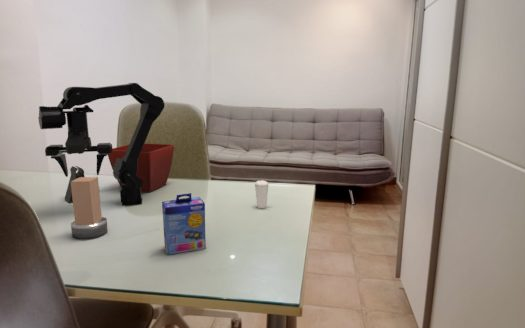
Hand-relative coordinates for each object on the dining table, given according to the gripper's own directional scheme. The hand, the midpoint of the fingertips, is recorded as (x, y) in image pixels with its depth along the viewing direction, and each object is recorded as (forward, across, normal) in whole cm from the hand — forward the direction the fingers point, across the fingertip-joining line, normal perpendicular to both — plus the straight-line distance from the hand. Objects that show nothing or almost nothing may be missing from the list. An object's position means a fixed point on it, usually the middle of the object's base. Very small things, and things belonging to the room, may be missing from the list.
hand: (82, 175), depth 122 cm
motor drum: (+12, +5, -22) cm, 25 cm away
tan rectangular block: (+8, +5, -22) cm, 24 cm away
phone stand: (+12, -5, +16) cm, 21 cm away
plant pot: (+12, +17, +26) cm, 34 cm away
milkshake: (+12, +57, -12) cm, 59 cm away
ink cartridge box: (+12, +30, -39) cm, 51 cm away
